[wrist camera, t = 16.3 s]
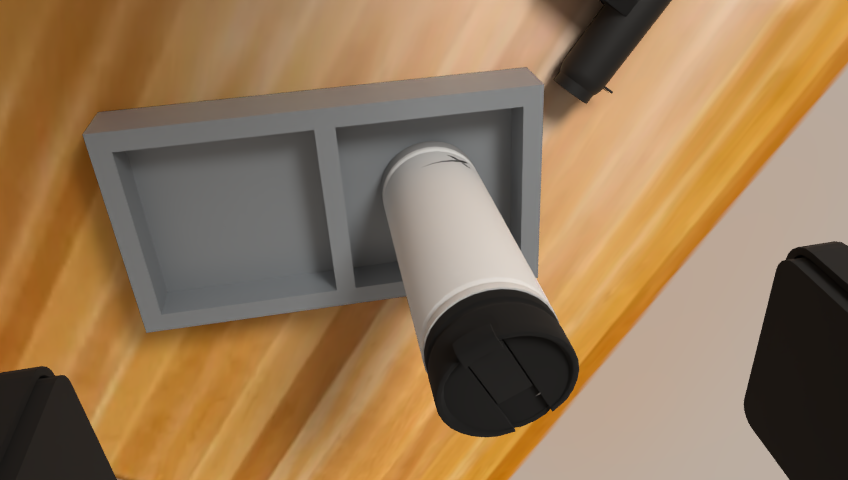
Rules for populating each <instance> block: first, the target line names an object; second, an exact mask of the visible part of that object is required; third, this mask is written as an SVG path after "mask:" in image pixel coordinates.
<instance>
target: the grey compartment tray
mask: <svg viewBox="0 0 848 480" xmlns="http://www.w3.org/2000/svg"><path fill="white" fill-rule="evenodd" d="M543 104H544V84H543V83H542V82H541V81H540V80H539V79H538V78H537V77H536V76H535V75H534V74H533V73H532V72H531V71H530V70H529V69H528V68H527V67H524V68H515V69H505V70H496V71H486V72H477V73H467V74H458V75H448V76H439V77H429V78H420V79H410V80H401V81H391V82H382V83H372V84H362V85H353V86H343V87H334V88H324V89H315V90H305V91H296V92H286V93H277V94H267V95H258V96H248V97H239V98H229V99H220V100H210V101H201V102H191V103H181V104H172V105H162V106H153V107H143V108H134V109H124V110H115V111H105V112H98V113H97V114H96V116H95V117H94V118H93V120H92V121H91V123H90V124H89V126H88V127H87V129H86V130H85V132H84V133H83V137H84V141H85V144H86V147H87V150H88V153H89V156H90V159H91V162H92V165H93V168H94V172H95V175H96V178H97V181H98V184H99V187H100V190H101V193H102V196H103V199H104V203H105V206H106V209H107V212H108V215H109V218H110V221H111V224H112V227H113V230H114V234H115V237H116V240H117V243H118V246H119V249H120V252H121V255H122V258H123V261H124V265H125V268H126V271H127V274H128V277H129V280H130V283H131V286H132V289H133V292H134V296H135V299H136V302H137V305H138V308H139V311H140V314H141V317H142V320H143V323H144V327H145V330H146V333H148V332H155V331H163V330H170V329H177V328H184V327H191V326H198V325H205V324H212V323H219V322H227V321H234V320H241V319H248V318H255V317H262V316H269V315H276V314H283V313H291V312H298V311H305V310H312V309H319V308H326V307H333V306H340V305H347V304H355V303H362V302H369V301H376V300H383V299H390V298H397V297H404V296H406V292H405V288H404V284H403V280H402V276H401V272H400V268H399V264H398V260H397V256H396V252H395V248H394V244H393V240H392V236H391V232H390V228H389V224H388V220H387V216H386V212H385V208H384V204H383V200H382V196H381V182H382V177H383V174H384V172H385V169H386V168H387V166H388V164H389V163H390V161H391V160H392V159H393V158H394V157H395V156H396V155H397V154H398V153H400V152H401V151H402V150H404V149H405V148H407V147H409V146H411V145H413V144H417V143H420V142H426V141H439V142H445V143H448V144H451V145H453V146H455V147H457V148H459V149H460V150H461V151H462V152H464V153H465V154H466V155H467V156H468V158H469V159H470V160H471V162H472V164H473V165H474V167H475V169H476V171H477V173H478V174H479V176H480V178H481V180H482V182H483V184H484V185H485V187H486V189H487V191H488V193H489V194H490V196H491V198H492V200H493V202H494V203H495V205H496V207H497V209H498V211H499V212H500V214H501V216H502V218H503V220H504V221H505V223H506V225H507V227H508V229H509V231H510V232H511V234H512V236H513V238H514V240H515V241H516V243H517V245H518V247H519V249H520V250H521V252H522V254H523V256H524V258H525V259H526V261H527V263H528V265H529V267H530V268H531V270H532V272H533V274H534V276H535V278H538V253H539V223H540V193H541V163H542V134H543Z"/></svg>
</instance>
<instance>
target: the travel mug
mask: <svg viewBox="0 0 848 480" xmlns="http://www.w3.org/2000/svg"><path fill="white" fill-rule="evenodd" d="M381 196H382V200H383V204H384V208H385V212H386V216H387V220H388V224H389V228H390V232H391V236H392V240H393V244H394V248H395V252H396V256H397V260H398V264H399V268H400V272H401V276H402V280H403V284H404V288H405V292H406V296H407V300H408V304H409V308H410V312H411V316H412V320H413V323H414V327H415V331H416V335H417V339H418V343H419V347H420V351H421V354H422V359H423V363H424V366H425V370H426V372H427V373H428V378H429V382H430V385H431V389H432V393H433V397H434V401H435V405H436V408H437V412H438V414H439V416H440V417H441V419H442V420H443V422H444V423H446V424H447V425H448V426H449V427H450V428H452V429H454V430H456V431H458V432H460V433H463V434H466V435H470V436H477V437H496V436H501V435H504V434H508V433H511V432H515V429H514V428H515V427H521V426H524V425H526V424H528V423H531V422H533V421H535V420H537V419H538V418H540V417H541V416H543V415H545V414H546V413H547V412H548V411H549V410H550V409H551V410H552V411H554V410H555V409H556V408H557V407H558V406H560V405H561V404H562V403H563V402H564V401H565V400H566V399H567V398H568V396H569V395H570V393H571V392H572V391H573V389H574V386H575V384H576V381H577V378H578V373H579V363H578V358H577V356H576V353H575V351H574V349H573V347H572V345H571V344H570V342H569V340H568V338H567V336H566V335H565V333H564V331H563V329H562V327H561V326H560V325H559V321H558V319H557V316H556V314H555V312H554V310H553V308H552V307H551V305H550V303H549V301H548V299H547V297H546V296H545V294H544V292H543V290H542V288H541V287H540V285H539V283H538V281H537V279H536V278H535V276H534V274H533V272H532V270H531V268H530V267H529V265H528V263H527V261H526V259H525V258H524V256H523V254H522V252H521V250H520V249H519V247H518V245H517V243H516V241H515V240H514V238H513V236H512V234H511V232H510V231H509V229H508V227H507V225H506V223H505V221H504V220H503V218H502V216H501V214H500V212H499V211H498V209H497V207H496V205H495V203H494V202H493V200H492V198H491V196H490V194H489V193H488V191H487V189H486V187H485V185H484V184H483V182H482V180H481V178H480V176H479V174H478V173H477V171H476V169H475V167H474V165H473V164H472V162H471V160H470V159H469V158H468V156H467V155H466V154H465V153H464V152H462V151H461V150H460V149H459V148H457V147H455V146H453V145H451V144H448V143H445V142H439V141H426V142H420V143H417V144H413V145H411V146H409V147H407V148H405V149H404V150H402V151H401V152H400V153H398V154H397V155H396V156H395V157H394V158H393V159H392V160H391V161H390V163H389V164H388V166H387V168H386V169H385V172H384V174H383V177H382V182H381Z"/></svg>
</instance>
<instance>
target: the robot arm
mask: <svg viewBox="0 0 848 480" xmlns="http://www.w3.org/2000/svg"><path fill="white" fill-rule="evenodd" d="M744 411H745V414H746V418H747V420H748V423H749V424H750V426H751V428H752V429H753V430H754V432H755V433H756V435H757V436H758V437H759V439H760V440H761V441H762V443H763V444H764V445H765V447H766V448H767V449H768V451H769V452H770V454H771V455H772V456H773V458H774V459H775V460H776V462H777V463H778V465H779V466H780V467H781V469H782V470H783V471H784V473H785V474H786V475H787V477H788V478H789V480H848V246H847V245H845V244H844V243H842V242H828V243H822V244H815V245H809V246H803V247H797V248H795V249H792V250H791V251H790V253H789V254H788V256H787V258H786V260H785V261H782V262H781V263H780V264H779V265H778V267H777V269H776V273H775V277H774V281H773V285H772V289H771V293H770V298H769V301H768V306H767V309H766V314H765V318H764V322H763V326H762V330H761V334H760V338H759V342H758V346H757V350H756V354H755V358H754V362H753V366H752V370H751V374H750V379H749V383H748V387H747V390H746V395H745V399H744ZM0 480H117V479H116V477H115V475H114V473H113V471H112V468H111V466H110V464H109V462H108V460H107V458H106V456H105V454H104V452H103V449H102V447H101V445H100V443H99V441H98V439H97V437H96V435H95V433H94V430H93V428H92V426H91V424H90V422H89V420H88V418H87V416H86V414H85V411H84V409H83V407H82V405H81V403H80V401H79V399H78V397H77V395H76V392H75V390H74V388H73V386H72V384H71V382H70V381H69V379H68V378H67V377H66V376H65V375H59V376H55V375H54V374H53V372H52V370H50V369H49V368H48V367H44V366H40V367H34V368H28V369H21V370H15V371H9V372H2V373H0Z"/></svg>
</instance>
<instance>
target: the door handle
mask: <svg viewBox="0 0 848 480" xmlns="http://www.w3.org/2000/svg"><path fill="white" fill-rule="evenodd" d="M599 1H601V2H602V3H603V4H605V5H604V6H603V8H602V9H601V10H600V12H599V13H598V15H597V16H596V17H595V19H594V20H593V21H592V23H591V24H590V25H589V27H588V28H587V29H586V31H585V32H584V33H583V35H582V36H581V37H580V39H579V40H578V42H577V43H576V44H575V46H574V47H573V48H572V50H571V51H570V52H569V54H568V55H567V56H566V58H565V59H564V61H563V63H562V65H561V69H560V72H559V73H558V75H557V76H556V78H555V79H554V80H555V81H556V82H557V83H558V84H559V85H560V86H562V87H563V88H564V89H566V90H567V91H568V92H569V93H571V94H572V95H574V96H575V97H577V98H578V99H579V100H581V101H582V102H584V103H586V104H587V103H588V101H589V100H590V99H591V97H592V96H593V95H595V94H597V93H599V92H600V91H601V90H602V89H604V88H605V89H606V90H607V91H609V92H610V93H613V92H612V91H611V90H610V89H608V88H607V87H605V86H606V84H607V83H608V82H609V80H610V79H611V78H612V77H613V75H614V74H615V73H616V71H617V70H618V69H619V68H620V66H621V65H622V64H623V62H624V61H625V60H626V59H627V57H628V56H629V55H630V53H631V52H632V51H633V49H634V48H635V47H636V46H637V44H638V43H639V42H640V40H641V39H642V38H643V37H644V35H645V34H646V33H647V31H648V30H649V29H650V28H651V26H652V25H653V24H654V22H655V21H656V20H657V19H658V17H659V16H660V15H661V13H662V12H663V11H664V10H665V8H666V7H667V6H668V4H669V3H670V2H671V1H672V0H599ZM605 89H604V90H605ZM606 90H605V91H606ZM609 92H608V93H609Z"/></svg>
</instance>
